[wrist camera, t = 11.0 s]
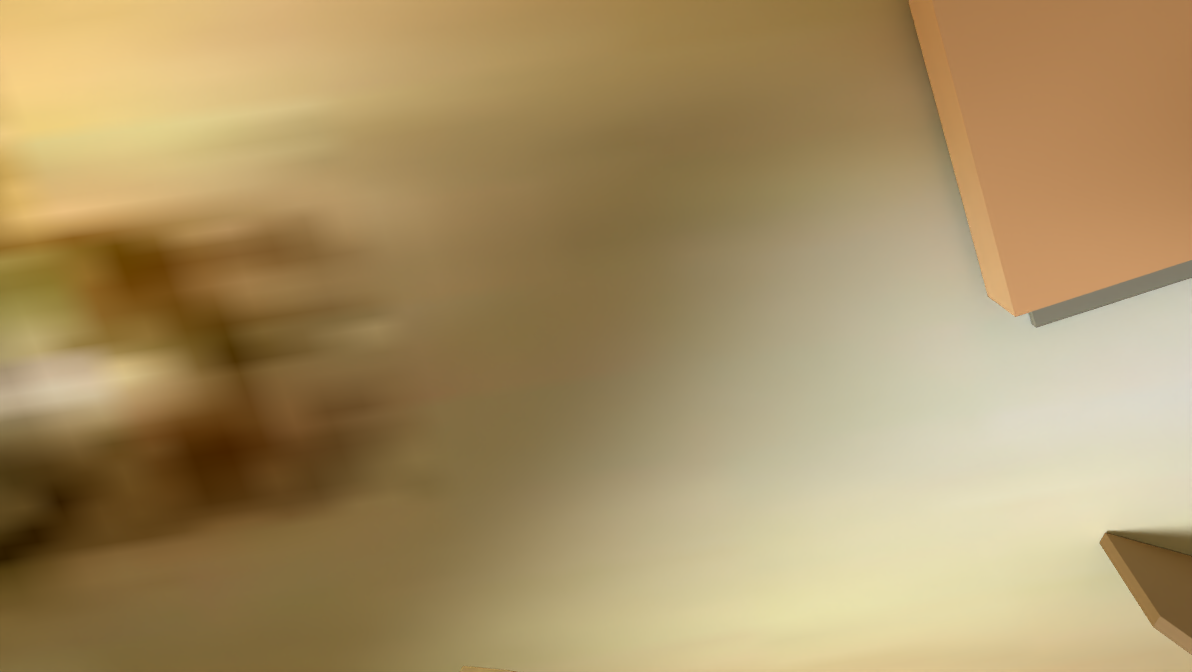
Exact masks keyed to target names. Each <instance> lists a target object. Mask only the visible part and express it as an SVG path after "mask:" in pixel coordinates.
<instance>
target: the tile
mask: <svg viewBox="0 0 1192 672" xmlns="http://www.w3.org/2000/svg"><path fill="white" fill-rule="evenodd" d="M908 2H909V6H910V9H911V13H912V17H913V21H914V24H915V28H916V32H917V35H918V39H919V43H920V47H921V50H922V54H923V58H924V61H925V65H926V69H927V72H928V76H929V80H930V84H931V87H932V91H933V95H934V98H935V102H936V106H937V109H938V113H939V117H940V121H941V124H942V128H943V132H944V135H945V139H946V143H947V146H948V150H949V154H950V158H951V161H952V165H953V169H954V172H955V176H956V180H957V184H958V187H959V191H960V195H961V198H962V202H963V206H964V209H965V213H966V217H967V221H968V224H969V228H970V232H971V235H972V239H973V243H974V246H975V250H976V254H977V258H978V261H979V265H980V269H981V272H982V276H983V280H984V283H985V287H986V291H987V295H988V297H989V298H991V299H992V300H993V301H995V302H996V303H998V304H999V305H1000V306H1002V307H1003V308H1004V309H1006V310H1007V311H1008V312H1010V313H1011V314H1012V315H1014V316H1015V317H1016V316H1020V315H1023V314H1026V313H1029V312H1032V311H1035V310H1038V309H1041V308H1044V307H1047V306H1050V305H1054V304H1057V303H1060V302H1063V301H1066V300H1069V299H1072V298H1075V297H1078V296H1081V295H1085V294H1088V293H1091V292H1094V291H1097V290H1100V289H1103V288H1106V287H1109V286H1112V285H1115V284H1119V283H1122V282H1125V281H1128V280H1131V279H1134V278H1137V277H1140V276H1143V275H1146V274H1150V273H1153V272H1156V271H1159V270H1162V269H1165V268H1168V267H1171V266H1174V265H1177V264H1180V263H1184V262H1187V261H1190V260H1192V0H908Z"/></svg>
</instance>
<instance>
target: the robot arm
mask: <svg viewBox="0 0 1192 672" xmlns="http://www.w3.org/2000/svg"><path fill="white" fill-rule="evenodd" d="M459 672H516V671H511V670H500V669H490V668H480V667H470V666H463V667H462V669H461V670H460V671H459Z"/></svg>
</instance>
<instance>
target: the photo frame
mask: <svg viewBox="0 0 1192 672" xmlns="http://www.w3.org/2000/svg"><path fill="white" fill-rule="evenodd" d="M1100 545H1101V546H1102V548H1103V549H1104V551H1105V552H1106V554H1107V556H1108V557H1109V559H1110V560H1111V562H1112V563H1113V565H1114V566H1115V568H1116V570H1117V571H1118V573H1119V574H1120V576H1121V577H1122V579H1123V581H1124V582H1125V584H1126V585H1127V587H1128V588H1129V590H1130V591H1131V593H1132V595H1133V596H1134V598H1135V599H1136V601H1137V602H1138V604H1139V606H1140V607H1141V609H1142V610H1143V612H1144V613H1145V615H1146V616H1147V618H1148V620H1149V621H1150V623H1151V624H1152V626H1153V627H1154V628H1155V629H1157V630H1158V631H1160V632H1161V633H1162V634H1164V635H1165V636H1167V637H1168V638H1169V639H1171V640H1172V641H1173V642H1175V643H1176V644H1178V645H1179V646H1180V647H1182V648H1183V649H1184V650H1186V651H1187V652H1189V653H1190V654H1191V655H1192V556H1190V555H1186V554H1182V553H1179V552H1175V551H1171V550H1167V549H1164V548H1160V547H1156V546H1153V545H1149V544H1145V543H1142V542H1138V541H1134V540H1130V539H1127V538H1123V537H1119V536H1116V535H1112V534H1108V533H1105V534H1104V536H1103V538H1102V539H1101V541H1100Z"/></svg>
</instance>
